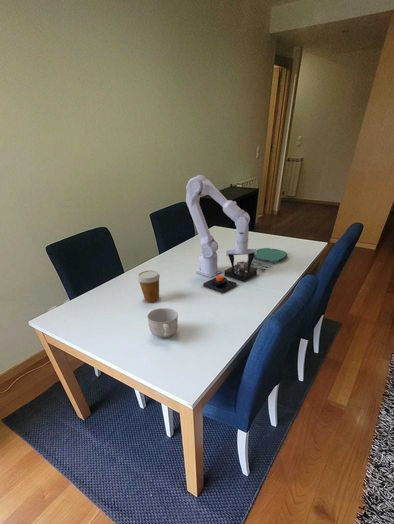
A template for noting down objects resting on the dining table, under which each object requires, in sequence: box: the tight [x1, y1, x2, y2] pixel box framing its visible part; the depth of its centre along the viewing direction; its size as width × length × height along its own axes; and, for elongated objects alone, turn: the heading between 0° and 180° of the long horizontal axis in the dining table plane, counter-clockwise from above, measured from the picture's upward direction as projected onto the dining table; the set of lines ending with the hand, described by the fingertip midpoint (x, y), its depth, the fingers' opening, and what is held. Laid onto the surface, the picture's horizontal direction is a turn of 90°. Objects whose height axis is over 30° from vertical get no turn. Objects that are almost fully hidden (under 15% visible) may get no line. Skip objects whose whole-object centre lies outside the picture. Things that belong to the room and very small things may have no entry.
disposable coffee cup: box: [136, 269, 161, 304], centre depth 127 cm, size 10×10×12 cm
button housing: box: [202, 276, 237, 294], centre depth 137 cm, size 12×10×4 cm
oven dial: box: [236, 260, 246, 271], centre depth 144 cm, size 4×4×4 cm
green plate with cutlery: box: [244, 247, 288, 272], centre depth 161 cm, size 20×30×2 cm, turn 141°
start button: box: [215, 274, 225, 281], centre depth 136 cm, size 4×4×2 cm
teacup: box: [146, 307, 179, 338], centre depth 105 cm, size 14×11×8 cm
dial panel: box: [223, 264, 258, 283], centre depth 146 cm, size 12×11×3 cm
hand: (240, 269), depth 145 cm, fingers open, 7 cm apart
